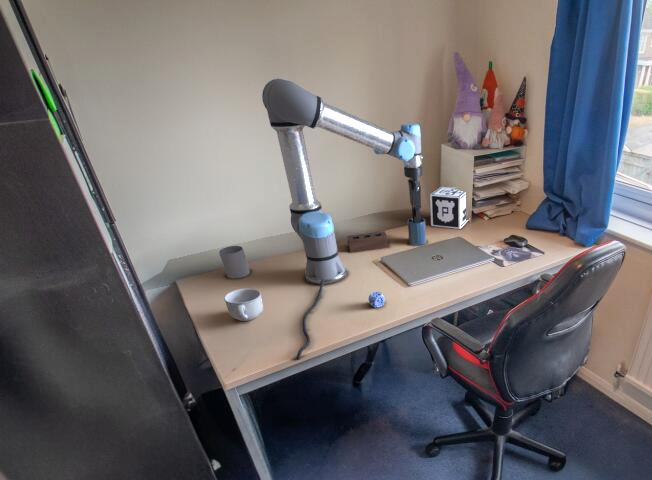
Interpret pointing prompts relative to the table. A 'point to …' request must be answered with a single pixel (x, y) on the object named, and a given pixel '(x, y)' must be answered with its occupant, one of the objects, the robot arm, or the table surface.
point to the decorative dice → (376, 299)
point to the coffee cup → (417, 232)
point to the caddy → (367, 241)
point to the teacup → (244, 304)
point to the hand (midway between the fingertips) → (416, 222)
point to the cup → (234, 262)
